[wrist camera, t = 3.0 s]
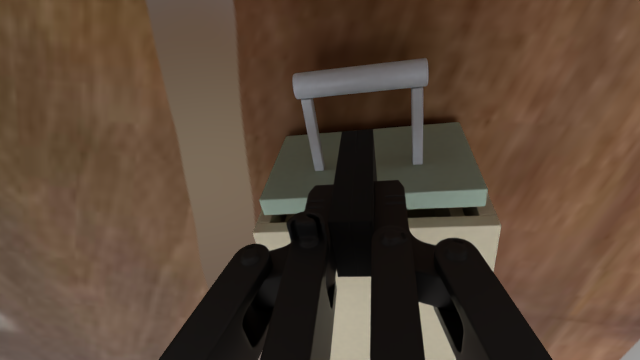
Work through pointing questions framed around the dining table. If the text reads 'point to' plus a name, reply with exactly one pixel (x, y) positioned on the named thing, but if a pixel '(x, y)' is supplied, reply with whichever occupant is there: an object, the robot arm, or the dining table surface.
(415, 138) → the drawer
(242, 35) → the dining table surface
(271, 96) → the dining table surface
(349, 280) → the cabinet
